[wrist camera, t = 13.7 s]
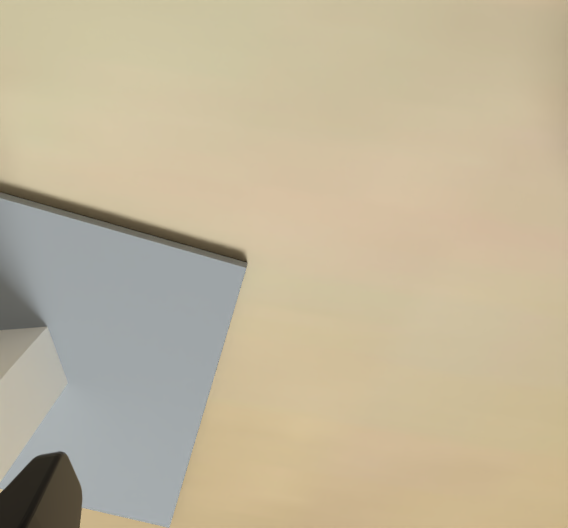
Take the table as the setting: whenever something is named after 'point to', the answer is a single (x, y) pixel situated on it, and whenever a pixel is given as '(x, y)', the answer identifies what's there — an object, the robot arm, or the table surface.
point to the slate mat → (117, 348)
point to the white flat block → (25, 387)
